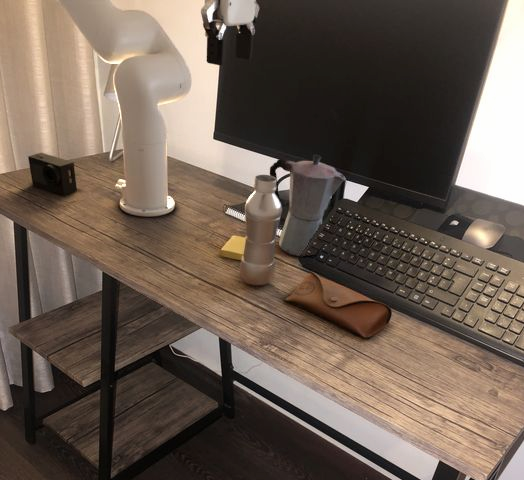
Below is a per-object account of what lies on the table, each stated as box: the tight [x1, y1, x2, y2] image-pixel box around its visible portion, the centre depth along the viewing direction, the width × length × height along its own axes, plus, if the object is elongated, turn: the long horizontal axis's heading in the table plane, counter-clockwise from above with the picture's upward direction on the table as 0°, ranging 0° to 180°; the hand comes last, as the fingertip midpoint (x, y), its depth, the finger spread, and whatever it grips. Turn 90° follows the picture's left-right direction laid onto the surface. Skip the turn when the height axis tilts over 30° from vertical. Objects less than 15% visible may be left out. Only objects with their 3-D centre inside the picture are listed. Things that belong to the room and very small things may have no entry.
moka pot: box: [269, 154, 347, 257], centre depth 113 cm, size 10×15×20 cm, turn 78°
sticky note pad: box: [220, 235, 246, 261], centre depth 115 cm, size 8×8×2 cm
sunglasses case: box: [284, 270, 393, 339], centre depth 99 cm, size 18×7×7 cm, turn 52°
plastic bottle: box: [239, 174, 283, 286], centre depth 100 cm, size 6×7×20 cm
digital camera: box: [27, 152, 78, 196], centre depth 132 cm, size 10×5×7 cm, turn 61°
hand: (229, 61), depth 101 cm, fingers open, 9 cm apart
